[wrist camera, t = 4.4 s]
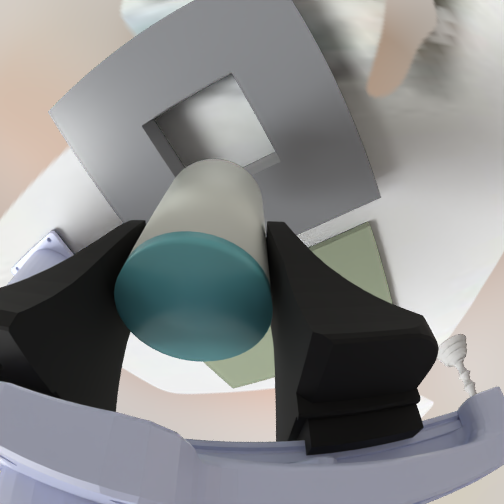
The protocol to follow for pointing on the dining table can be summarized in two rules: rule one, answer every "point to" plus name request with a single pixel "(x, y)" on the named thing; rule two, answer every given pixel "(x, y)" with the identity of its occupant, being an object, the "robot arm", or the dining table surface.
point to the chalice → (457, 359)
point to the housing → (256, 92)
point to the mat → (340, 260)
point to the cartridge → (200, 267)
